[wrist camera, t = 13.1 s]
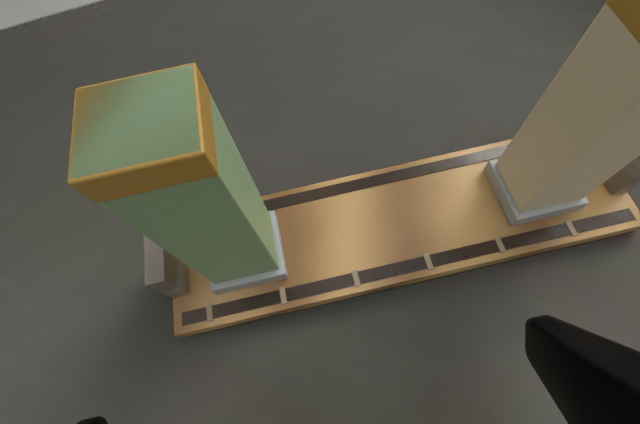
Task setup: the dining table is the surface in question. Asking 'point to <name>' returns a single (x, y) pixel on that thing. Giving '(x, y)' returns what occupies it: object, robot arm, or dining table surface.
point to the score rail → (388, 237)
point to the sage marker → (175, 175)
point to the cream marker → (577, 124)
